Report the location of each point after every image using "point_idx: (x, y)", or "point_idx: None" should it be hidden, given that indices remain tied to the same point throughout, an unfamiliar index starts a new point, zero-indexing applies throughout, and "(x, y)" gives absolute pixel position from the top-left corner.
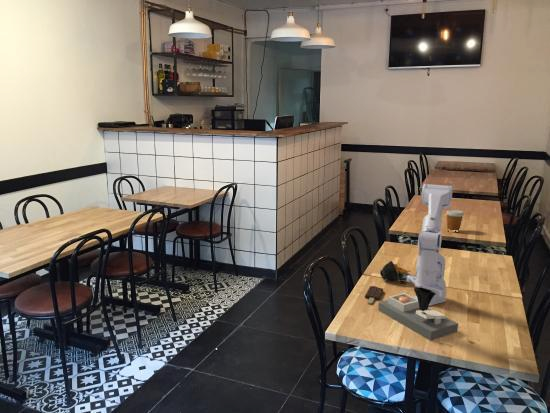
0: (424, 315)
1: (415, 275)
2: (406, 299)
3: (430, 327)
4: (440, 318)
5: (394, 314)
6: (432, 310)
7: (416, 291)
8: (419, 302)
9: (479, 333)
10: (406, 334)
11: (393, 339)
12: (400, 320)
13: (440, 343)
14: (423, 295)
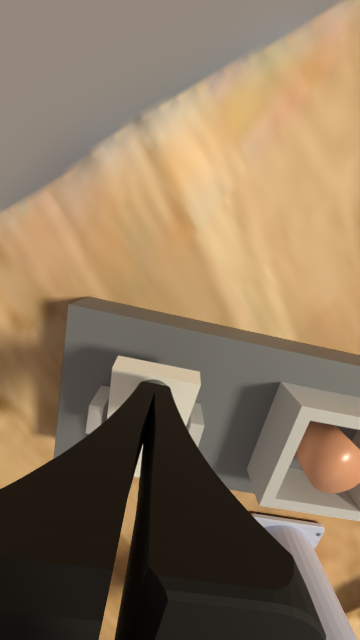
0: (130, 368)
1: None
2: (323, 469)
3: (98, 340)
4: (88, 425)
5: (306, 350)
6: None
7: (217, 547)
8: (166, 416)
9: (24, 472)
10: (184, 264)
11: (197, 170)
12: (262, 337)
13: (50, 308)
14: (23, 502)
